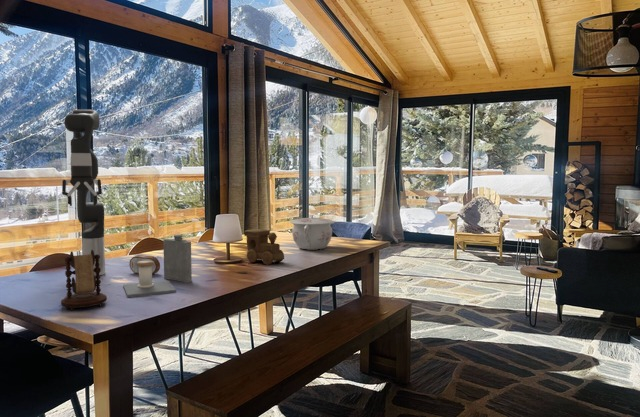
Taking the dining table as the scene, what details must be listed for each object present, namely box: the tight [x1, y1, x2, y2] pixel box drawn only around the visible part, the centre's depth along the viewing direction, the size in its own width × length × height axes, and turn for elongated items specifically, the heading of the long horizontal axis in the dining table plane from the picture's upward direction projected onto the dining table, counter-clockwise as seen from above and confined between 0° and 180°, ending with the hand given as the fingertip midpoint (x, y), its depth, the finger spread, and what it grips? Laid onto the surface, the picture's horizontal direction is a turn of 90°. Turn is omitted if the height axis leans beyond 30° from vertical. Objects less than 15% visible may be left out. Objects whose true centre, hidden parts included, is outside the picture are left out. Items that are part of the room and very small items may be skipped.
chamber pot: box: [289, 214, 335, 251], centre depth 299 cm, size 28×28×21 cm
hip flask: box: [162, 234, 193, 284], centre depth 215 cm, size 16×4×20 cm, turn 58°
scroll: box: [60, 250, 108, 312], centre depth 174 cm, size 15×15×20 cm
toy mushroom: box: [137, 261, 154, 288], centre depth 199 cm, size 6×6×10 cm
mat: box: [122, 279, 177, 298], centre depth 198 cm, size 18×18×1 cm
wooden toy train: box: [243, 228, 285, 266], centre depth 255 cm, size 20×11×17 cm, turn 56°
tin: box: [129, 254, 161, 275], centre depth 227 cm, size 15×3×8 cm, turn 74°
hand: (82, 205), depth 196 cm, fingers open, 8 cm apart
